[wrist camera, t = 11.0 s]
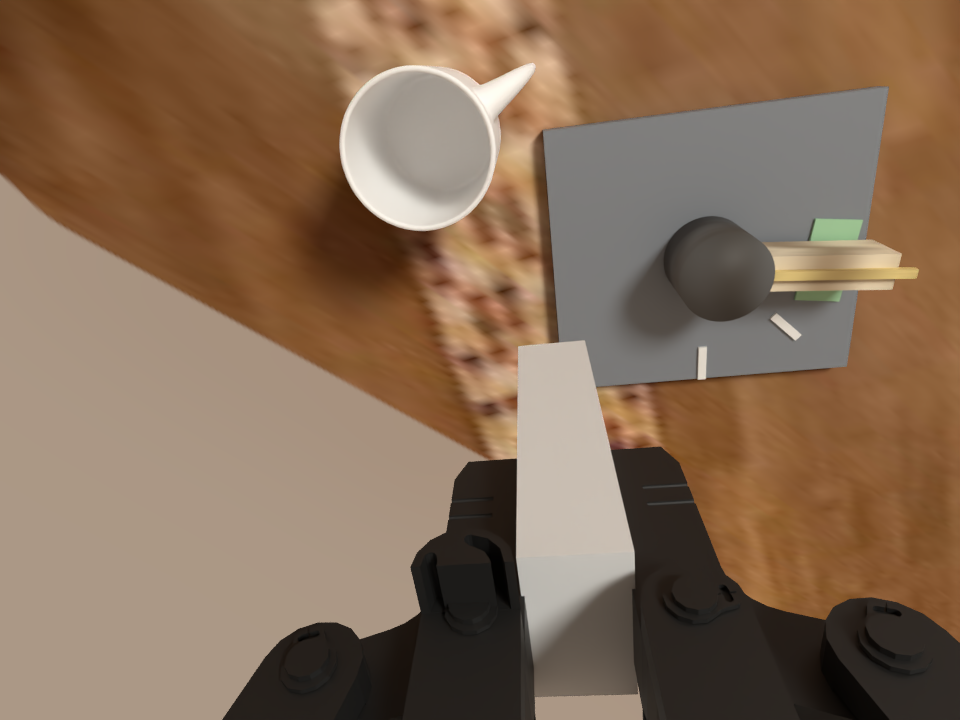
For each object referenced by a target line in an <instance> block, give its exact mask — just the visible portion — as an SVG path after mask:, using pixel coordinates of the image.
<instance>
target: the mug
mask: <svg viewBox="0 0 960 720" xmlns="http://www.w3.org/2000/svg"><path fill="white" fill-rule="evenodd" d="M535 69H536V66H535V64H534V63H529V64H526V65H523V66H521V67H519V68H516V69H514V70H512V71H510V72H508V73H506V74H504V75H502V76H500V77H498V78H496V79H494V80H492V81H490V82H487V83H485V84H482V85H479V84H478V83H477V82H476V81H474V80H473V79H472V78H470V77H469V76H467V75H466V74H464V73H462V72H460V71H458V70H455V69H451V68H447V67H440V66H419V65H408V66H401V67H396V68H393V69H390V70H387V71H385V72H382V73H380V74H378V75H377V76H375V77H374V78H372V79H371V80H369V81H368V82H367V83H366V84H365V85H364V86H363V87H361V89H360V90H359V91H358V92H357V93H356V95H355V96H354V97H353V99H352V101H351V102H350V104H349V106H348V108H347V110H346V113H345V115H344V118H343V122H342V125H341V131H340V157H341V162H342V167H343V170H344V173H345V176H346V178H347V181H348V183H349V185H350V187H351V189H352V190H353V192H354V193H355V195H356V196H357V198H358V199H359V200H360V201H361V202H362V204H363V205H364V206H365V207H366V208H367V209H368V210H369V211H370V212H372V213H373V214H374V215H376V216H377V217H378V218H380V219H382V220H383V221H385V222H387V223H389V224H391V225H394V226H396V227H399V228H403V229H407V230H413V231H430V230H437V229H441V228H444V227H447V226H449V225H452V224H454V223H456V222H458V221H459V220H461V219H463V218H464V217H465V216H466V215H468V214H469V213H470V212H471V211H472V210H473V209H474V208H475V207H476V206H477V205H478V203H479V202H480V201H481V200H482V198H483V197H484V195H485V193H486V191H487V190H488V187H489V185H490V182H491V180H492V176H493V172H494V169H495V165H496V161H497V158H498V154H499V150H500V143H501V130H500V123H499V118H498V115H499V114H500V113H501V112H502V111H503V109H504V108H505V107H506V106H507V105H508V104H509V103H510V102H511V101H512V99H513V98H514V97H515V96H516V95H517V94H518V93H519V92H520V90H521V89H522V88H523V87H524V86H525V84H526V83H527V82H528V81H529V79H530V78H531V77H532V75H533V74H534V72H535Z"/></svg>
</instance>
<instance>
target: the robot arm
mask: <svg viewBox="0 0 960 720" xmlns="http://www.w3.org/2000/svg"><path fill="white" fill-rule="evenodd" d="M411 572H412V576H413V580H414V584H415V589H416V593H417V597H418V601H419V606H420V610H421V612H420V613H419V614H418V615H417V616H415V617H413V618H412V619H411V620H409V621H408V622H406V623H404V624H402V625H400V626H397V627H395V628H393V629H390V630H387V631H384V632H381V633H378V634H375V635H372V636H369V637H366V638H363V639H359V638H358V637H357V635H356V634H355V633H354V632H353V630H352V629H351V628H348V627H346V626H344V625H341V624H339V623H315V624H312V625H309V626H306V627H303V628H300V629H298V630H296V631H295V632H293V633H292V634H290V635H288V636H287V637H285V638H284V639H282V640H281V641H280V642H279V643H278V644H277V645H276V646H275V647H274V648H273V649H272V650H271V651H270V653H269V654H268V655H267V656H266V657H265V659H264V660H263V661H262V663H261V664H260V666H259V667H258V669H257V670H256V672H255V673H254V674H253V676H252V677H251V679H250V680H249V682H248V683H247V685H246V686H245V687H244V689H243V690H242V692H241V693H240V695H239V696H238V698H237V699H236V701H235V702H234V703H233V705H232V706H231V708H230V709H229V711H228V712H227V714H226V715H225V717H224V718H223V720H536V718H535V697H548V696H585V695H586V696H588V695H625V694H626V695H627V694H638V687H639V692H640V698H641V703H642V708H643V720H960V643H959V642H958V641H957V640H956V639H955V638H953V637H952V636H951V635H950V634H949V633H948V632H947V631H946V630H945V629H943V628H942V627H940V626H939V625H938V624H936V623H935V622H934V621H932V620H931V619H929V618H928V617H927V616H925V615H924V614H922V613H920V612H918V611H915V610H913V609H911V608H909V607H906V606H904V605H902V604H899V603H897V602H892V601H887V600H882V599H877V598H872V597H871V598H857V599H849V600H847V601H845V602H843V603H841V604H839V605H837V606H835V607H833V609H832V610H831V612H830V614H829V615H828V617H827V619H826V620H822V619H818V618H813V617H808V616H804V615H799V614H794V613H790V612H785V611H782V610H778V609H775V608H772V607H768V606H766V605H764V604H762V603H760V602H758V601H756V600H753V599H751V598H750V597H748V596H747V595H746V594H745V593H744V592H743V590H742V589H741V588H740V586H739V585H738V584H737V583H736V582H735V581H733V580H732V579H731V578H729V577H728V576H726V575H725V573H724V571H723V570H722V568H721V566H720V563H719V561H718V558H717V556H716V553H715V551H714V548H713V546H712V543H711V541H710V538H709V536H708V533H707V531H706V529H705V526H704V524H703V521H702V519H701V516H700V514H699V511H698V509H697V506H696V504H694V499H693V496H692V494H691V491H690V489H689V487H688V486H687V481H686V479H685V476H684V474H683V471H682V469H681V466H680V464H679V462H678V461H676V460H675V459H674V458H673V457H672V456H671V455H670V454H668V453H667V452H666V451H665V450H664V449H663V448H661V447H649V448H635V449H620V450H610V445H609V441H608V437H607V433H606V428H605V424H604V420H603V416H602V411H601V407H600V403H599V399H598V394H597V390H596V386H595V381H594V377H593V373H592V369H591V364H590V360H589V356H588V352H587V347H586V343H585V340H582V341H571V342H560V343H549V344H538V345H527V346H518V426H517V459H504V460H490V461H476V462H468V463H467V465H466V466H465V467H464V468H463V470H462V471H461V472H460V474H459V475H458V476H457V478H456V479H455V482H454V488H453V495H452V503H451V507H450V513H449V520H448V525H447V531H446V533H444V534H442V535H440V536H438V537H436V538H434V539H432V540H430V541H429V542H428V543H427V544H426V545H425V546H424V547H423V548H422V549H421V550H419V551H418V552H417V554H416V556H415V558H414V561H413V563H412V565H411ZM637 682H638V684H637ZM534 695H535V696H534Z"/></svg>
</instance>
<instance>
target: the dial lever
mask: <svg viewBox="0 0 960 720" xmlns="http://www.w3.org/2000/svg"><path fill="white" fill-rule="evenodd" d="M901 255H902V254H901V253H899V252H897V251H895V250H893V249H891V248H889V247H886V246H884V245H882V244H880V243H878V242H876V241H874V240H836V241H793V242H761V241H759V240H758V239H756V238H755V237H754V236H752V235H751V234H749V233H748V232H747V231H745V230H744V229H742V228H741V227H740V226H738V225H737V224H735V223H734V222H733V221H731V220H729V219H726V218H723V217H718V216H706V217H701V218H698V219H695V220H692V221H690V222H688V223H687V224H685V225H684V226H682V227H681V228H680V229H679V230H678V231H677V232H676V233H675V234H674V235H673V237H672V238H671V239H670V241H669V243H668V245H667V247H666V250H665V254H664V270H665V274H666V276H667V278H668V280H669V281H670V283H671V284H672V286H673V287H674V289H675V290H676V291H677V293H678V294H679V296H680V297H681V299H682V300H683V301H684V303H685V304H686V306H687V307H688V308H689V309H690V310H691V311H692V312H693V313H694V314H696V315H697V316H699V317H701V318H703V319H706V320H709V321H715V322H725V321H731V320H735V319H738V318H741V317H743V316H745V315H747V314H749V313H751V312H752V311H753V310H755V309H756V308H757V307H758V306H759V305H760V304H761V303H762V302H763V301H764V300H765V299H766V297H767V296H768V294H769V292H776V291H835V290H892V288H893V285H894V281H895V279H916V278H917V275H918V271H919V269H917V268H915V267H899V268H898V266H899V263H900V259H901Z"/></svg>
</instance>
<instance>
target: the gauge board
mask: <svg viewBox="0 0 960 720" xmlns="http://www.w3.org/2000/svg"><path fill="white" fill-rule="evenodd" d="M888 89H889V87H883V86H877V87H869V88H862V89H854V90H846V91H838V92H831V93H823V94H815V95H808V96H800V97H792V98H784V99H777V100H769V101H761V102H753V103H746V104H738V105H730V106H722V107H715V108H707V109H699V110H692V111H684V112H676V113H668V114H661V115H653V116H645V117H637V118H630V119H622V120H614V121H606V122H599V123H591V124H583V125H576V126H568V127H560V128H552V129H545V130H543V142H544V155H545V168H546V181H547V194H548V207H549V220H550V233H551V246H552V259H553V272H554V285H555V298H556V311H557V324H558V337H559V343H560V342H571V341H582V340H585V343H586V347H587V352H588V356H589V360H590V364H591V369H592V373H593V377H594V381H595V386H596V387H600V386H612V385H624V384H637V383H649V382H661V381H674V380H686V379H698V380H701V379H706V378H711V377H723V376H735V375H748V374H760V373H772V372H785V371H797V370H809V369H822V368H834V367H846V366H847V361H848V354H849V347H850V341H851V334H852V328H853V321H854V314H855V308H856V301H857V295H858V290H835V291H776V292H769V294H768V296H767V297H766V299H765V300H764V301H763V302H762V303H761V304H760V305H759V306H758V307H757V308H756V309H755V310H753V311H752V312H751V313H749V314H747V315H745V316H743V317H741V318H738V319H735V320H731V321H725V322H715V321H709V320H706V319H703V318H701V317H699V316H697V315H696V314H694V313H693V312H692V311H691V310H690V309H689V308H688V307H687V306H686V304H685V303H684V301H683V300H682V299H681V297H680V296H679V294H678V293H677V291H676V290H675V289H674V287H673V286H672V284H671V283H670V281H669V280H668V278H667V276H666V274H665V270H664V254H665V250H666V247H667V245H668V243H669V241H670V239H671V238H672V237H673V235H674V234H675V233H676V232H677V231H678V230H679V229H680V228H681V227H682V226H684V225H685V224H687V223H688V222H690V221H692V220H695V219H698V218H701V217H706V216H718V217H723V218H726V219H729V220H731V221H733V222H734V223H735V224H737V225H738V226H740V227H741V228H742V229H744V230H745V231H747V232H748V233H749V234H751V235H752V236H754V237H755V238H756V239H758V240H759V241H761V242H793V241H836V240H866V235H867V228H868V222H869V215H870V208H871V202H872V195H873V189H874V182H875V175H876V169H877V162H878V156H879V149H880V142H881V136H882V129H883V122H884V116H885V109H886V103H887V96H888Z"/></svg>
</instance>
